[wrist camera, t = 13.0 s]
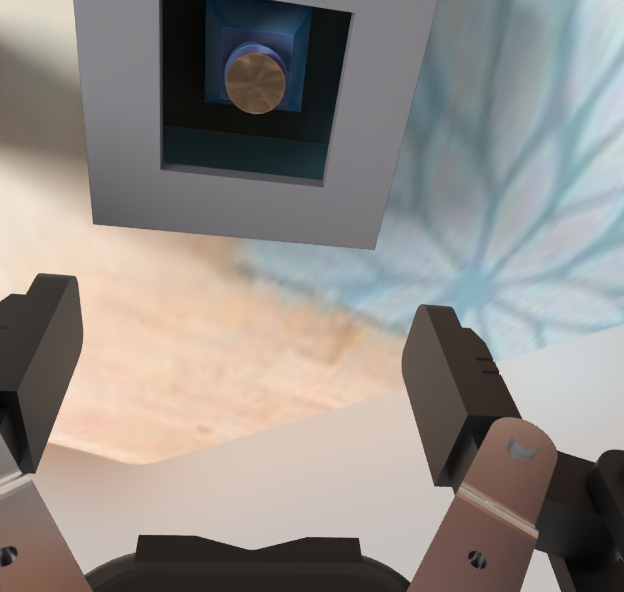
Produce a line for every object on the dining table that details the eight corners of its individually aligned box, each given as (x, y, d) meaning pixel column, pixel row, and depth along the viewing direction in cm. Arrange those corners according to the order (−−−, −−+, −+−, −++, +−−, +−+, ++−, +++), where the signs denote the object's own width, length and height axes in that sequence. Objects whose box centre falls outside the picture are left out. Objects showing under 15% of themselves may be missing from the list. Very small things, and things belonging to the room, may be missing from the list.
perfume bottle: (305, -9, 38) (320, 28, 28) (295, 84, 42) (306, 145, 32) (213, -21, 37) (196, 13, 28) (211, 75, 41) (196, 135, 31)
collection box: (136, 134, 43) (93, 224, 32) (127, -134, 33) (60, -140, 22) (346, 158, 45) (374, 249, 34) (394, -84, 36) (455, -68, 25)
